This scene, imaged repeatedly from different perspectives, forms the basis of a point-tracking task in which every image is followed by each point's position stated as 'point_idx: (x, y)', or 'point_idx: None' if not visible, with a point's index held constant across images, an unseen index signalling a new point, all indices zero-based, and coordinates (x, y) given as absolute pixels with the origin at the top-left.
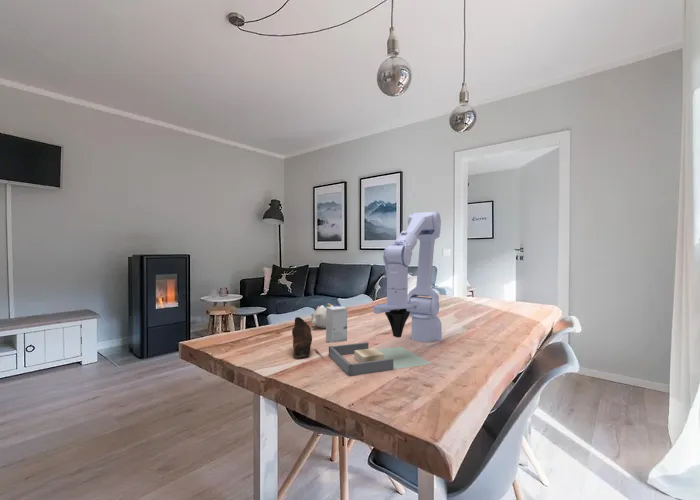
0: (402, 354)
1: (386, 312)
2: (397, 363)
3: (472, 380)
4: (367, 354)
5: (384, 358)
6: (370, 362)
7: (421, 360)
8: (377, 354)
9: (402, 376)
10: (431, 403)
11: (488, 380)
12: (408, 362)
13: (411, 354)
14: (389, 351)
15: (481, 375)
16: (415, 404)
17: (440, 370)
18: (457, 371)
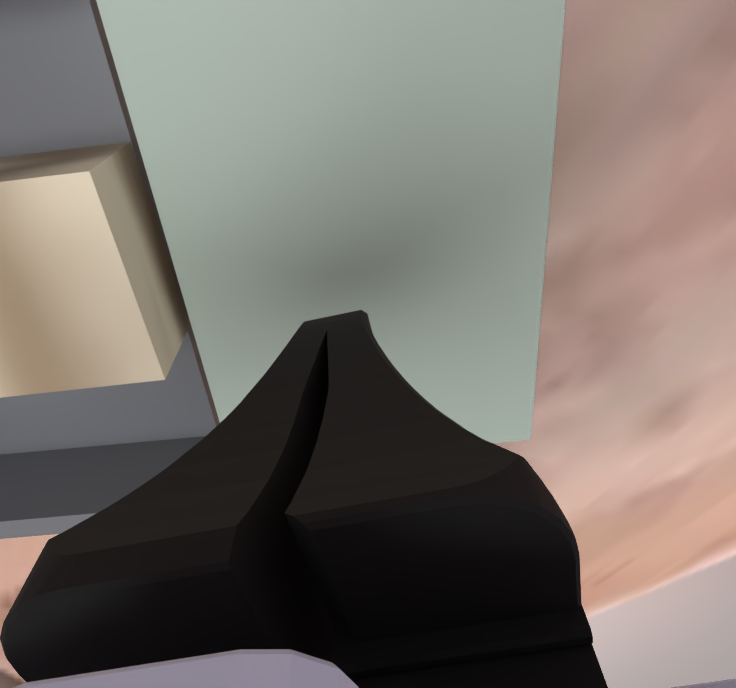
0: (425, 202)
1: (49, 663)
2: None
3: (613, 561)
4: (3, 350)
5: (211, 262)
6: (17, 536)
7: (498, 376)
8: (103, 370)
9: None
10: None
11: (684, 573)
12: None
13: (509, 226)
14: (331, 64)
15: (713, 529)
16: None
17: (559, 436)
18: (644, 468)
